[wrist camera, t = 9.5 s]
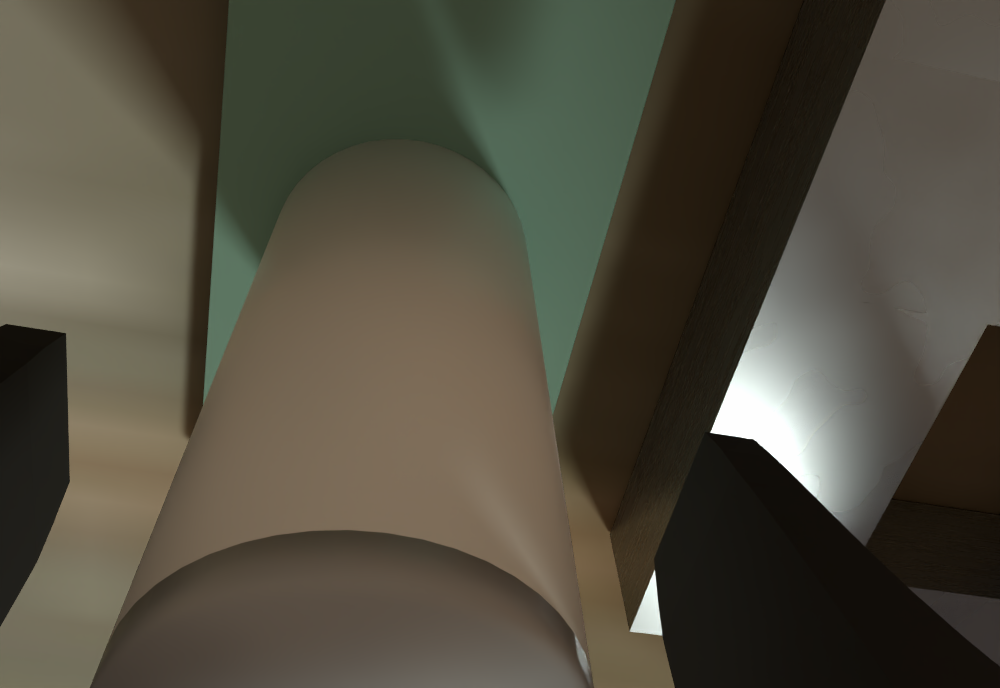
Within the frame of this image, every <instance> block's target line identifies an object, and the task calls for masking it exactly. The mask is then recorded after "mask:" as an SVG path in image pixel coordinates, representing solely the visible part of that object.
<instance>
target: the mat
mask: <svg viewBox="0 0 1000 688" xmlns="http://www.w3.org/2000/svg"><path fill="white" fill-rule="evenodd" d="M675 1H676V0H229V9H228V25H227V40H226V56H225V71H224V87H223V102H222V118H221V134H220V149H219V165H218V180H217V196H216V211H215V227H214V243H213V258H212V274H211V289H210V305H209V321H208V336H207V352H206V367H205V383H204V398H203V404H204V402H205V399H206V397H207V394H208V392H209V389H210V387H211V384H212V382H213V379H214V377H215V374H216V372H217V369H218V367H219V364H220V362H221V359H222V357H223V354H224V352H225V349H226V347H227V344H228V342H229V339H230V337H231V334H232V332H233V329H234V327H235V324H236V322H237V319H238V317H239V314H240V312H241V309H242V307H243V304H244V302H245V299H246V297H247V295H248V292H249V290H250V287H251V285H252V282H253V280H254V277H255V275H256V272H257V270H258V267H259V265H260V262H261V260H262V257H263V255H264V252H265V250H266V247H267V245H268V242H269V240H270V237H271V235H272V232H273V230H274V227H275V225H276V222H277V220H278V217H279V215H280V212H281V210H282V208H283V206H284V204H285V202H286V200H287V198H288V196H289V195H290V193H291V192H292V190H293V189H294V187H295V186H296V185H297V183H298V182H299V181H300V180H301V179H302V178H303V177H304V176H305V175H306V174H307V173H308V172H309V171H310V170H311V169H312V168H314V167H315V166H316V165H318V164H319V163H320V162H321V161H323V160H325V159H326V158H328V157H330V156H331V155H333V154H335V153H337V152H339V151H342V150H344V149H346V148H349V147H351V146H354V145H358V144H362V143H366V142H370V141H378V140H385V139H406V140H414V141H422V142H426V143H430V144H434V145H438V146H441V147H444V148H446V149H449V150H451V151H454V152H456V153H458V154H460V155H462V156H463V157H465V158H467V159H469V160H471V161H472V162H474V163H475V164H476V165H478V166H479V167H480V168H482V169H483V170H485V171H486V172H487V173H488V174H489V175H490V176H491V177H492V178H493V179H494V180H495V181H496V182H497V183H498V184H499V185H500V187H501V188H502V189H503V190H504V192H505V193H506V194H507V196H508V197H509V199H510V201H511V202H512V204H513V206H514V207H515V209H516V211H517V214H518V216H519V218H520V221H521V223H522V227H523V231H524V235H525V239H526V245H527V252H528V259H529V265H530V272H531V278H532V285H533V291H534V298H535V305H536V311H537V318H538V324H539V331H540V338H541V344H542V351H543V357H544V364H545V370H546V377H547V384H548V390H549V397H550V403H551V410H552V416H553V412H554V409H555V406H556V402H557V399H558V396H559V392H560V389H561V385H562V382H563V379H564V375H565V372H566V369H567V365H568V362H569V359H570V355H571V352H572V348H573V345H574V342H575V338H576V335H577V332H578V328H579V325H580V321H581V318H582V315H583V311H584V308H585V305H586V301H587V298H588V294H589V291H590V288H591V284H592V281H593V278H594V274H595V271H596V268H597V264H598V261H599V257H600V254H601V251H602V247H603V244H604V241H605V237H606V234H607V230H608V227H609V224H610V220H611V217H612V214H613V210H614V207H615V203H616V200H617V197H618V193H619V190H620V187H621V183H622V180H623V176H624V173H625V170H626V166H627V163H628V160H629V156H630V153H631V150H632V146H633V143H634V139H635V136H636V133H637V129H638V126H639V123H640V119H641V116H642V112H643V109H644V106H645V102H646V99H647V96H648V92H649V89H650V85H651V82H652V79H653V75H654V72H655V69H656V65H657V62H658V59H659V55H660V52H661V48H662V45H663V42H664V38H665V35H666V32H667V28H668V25H669V21H670V18H671V15H672V11H673V8H674V5H675Z"/></svg>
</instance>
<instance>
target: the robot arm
mask: <svg viewBox="0 0 1000 688" xmlns="http://www.w3.org/2000/svg"><path fill="white" fill-rule="evenodd" d="M69 482H70V476H69V436H68V397H67V357H66V333H61V332H54V331H48V330H41V329H35V328H28V327H22V326H15V325H9V324H5V325H3V326H1V327H0V626H1V624H2V623H3V621H4V619H5V617H6V616H7V614H8V612H9V610H10V609H11V607H12V605H13V603H14V602H15V600H16V598H17V596H18V595H19V593H20V591H21V589H22V588H23V586H24V584H25V582H26V581H27V579H28V577H29V575H30V573H31V572H32V570H33V568H34V566H35V564H36V563H37V560H38V558H39V556H40V553H41V551H42V549H43V546H44V544H45V542H46V539H47V537H48V535H49V532H50V530H51V527H52V525H53V523H54V520H55V517H56V515H57V512H58V510H59V507H60V505H61V502H62V500H63V497H64V495H65V492H66V489H67V487H68V484H69ZM654 565H655V575H656V586H657V596H658V605H659V613H660V620H661V628H662V636H663V640H664V645H665V649H666V653H667V657H668V661H669V665H670V669H671V673H672V677H673V681H674V685H675V688H1000V666H999V665H998V664H996V663H995V662H994V661H992V660H991V659H990V658H989V657H988V656H986V655H985V654H984V653H983V652H982V651H980V650H979V649H978V648H977V647H975V646H974V645H973V644H972V643H971V642H969V641H968V640H967V639H966V638H965V637H964V636H962V635H961V634H960V633H959V632H958V631H957V630H955V629H954V628H953V627H952V626H951V625H950V624H949V623H948V622H946V621H945V620H944V619H943V618H942V617H941V616H940V615H938V614H937V613H936V612H935V611H934V610H933V609H932V608H931V607H929V606H928V605H927V604H926V603H925V602H924V601H923V600H922V599H920V598H919V597H918V596H917V595H916V594H915V593H914V592H913V591H911V590H910V589H909V588H908V587H907V586H906V585H905V584H904V583H903V582H902V581H901V580H900V579H899V578H898V577H896V576H895V575H894V574H893V573H892V572H891V571H890V570H889V569H888V568H887V567H886V566H885V565H884V564H883V563H882V562H881V561H880V560H878V559H877V558H876V557H875V556H874V555H873V554H872V553H871V552H870V551H869V550H868V549H867V548H866V547H865V546H864V545H863V544H862V543H861V542H860V541H859V540H858V539H857V538H856V537H855V536H854V535H853V534H852V533H851V532H850V531H849V530H848V529H847V528H846V527H845V526H844V525H843V524H842V523H841V522H840V521H839V520H838V519H837V518H836V517H835V516H834V515H833V514H832V513H831V512H830V511H829V510H828V509H826V508H825V507H824V506H823V505H822V504H821V503H820V502H819V501H818V500H817V499H816V498H815V497H814V496H813V495H812V494H811V493H810V492H809V491H808V490H807V489H806V488H805V487H804V486H803V485H802V484H801V483H800V482H799V481H798V480H797V479H796V478H795V477H794V476H793V475H792V474H791V473H790V472H789V471H788V470H787V469H786V468H785V467H784V466H783V465H782V464H781V463H780V462H779V461H778V460H777V459H776V458H775V457H774V456H772V455H771V454H770V453H769V452H768V451H767V450H766V449H765V448H764V447H762V446H761V445H760V444H759V443H758V442H756V441H755V440H754V439H748V438H742V437H736V436H729V435H723V434H716V433H710V432H705V433H704V436H703V438H702V441H701V443H700V445H699V448H698V450H697V453H696V455H695V458H694V460H693V463H692V465H691V468H690V470H689V473H688V475H687V478H686V480H685V483H684V485H683V488H682V490H681V493H680V495H679V498H678V500H677V503H676V505H675V508H674V510H673V513H672V515H671V518H670V520H669V523H668V525H667V528H666V530H665V533H664V535H663V537H662V540H661V542H660V545H659V547H658V550H657V552H656V555H655V557H654Z"/></svg>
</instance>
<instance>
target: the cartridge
mask: <svg viewBox="0 0 1000 688" xmlns="http://www.w3.org/2000/svg"><path fill="white" fill-rule="evenodd" d="M90 688H594V686H593V680H592V673H591V666H590V660H589V653H588V647H587V640H586V634H585V627H584V620H583V614H582V607H581V601H580V594H579V588H578V581H577V574H576V568H575V561H574V555H573V548H572V541H571V535H570V528H569V522H568V515H567V509H566V502H565V495H564V489H563V482H562V476H561V469H560V463H559V456H558V449H557V443H556V436H555V430H554V423H553V416H552V410H551V403H550V397H549V390H548V384H547V377H546V370H545V364H544V357H543V351H542V344H541V338H540V331H539V324H538V318H537V311H536V305H535V298H534V291H533V285H532V278H531V272H530V265H529V259H528V252H527V245H526V239H525V235H524V231H523V227H522V223H521V221H520V218H519V216H518V214H517V211H516V209H515V207H514V206H513V204H512V202H511V201H510V199H509V197H508V196H507V194H506V193H505V192H504V190H503V189H502V188H501V187H500V185H499V184H498V183H497V182H496V181H495V180H494V179H493V178H492V177H491V176H490V175H489V174H488V173H487V172H486V171H485V170H483V169H482V168H480V167H479V166H478V165H476V164H475V163H474V162H472V161H471V160H469V159H467V158H465V157H463V156H462V155H460V154H458V153H456V152H454V151H451V150H449V149H446V148H444V147H441V146H438V145H434V144H430V143H426V142H422V141H414V140H406V139H385V140H378V141H370V142H366V143H362V144H358V145H354V146H351V147H349V148H346V149H344V150H342V151H339V152H337V153H335V154H333V155H331V156H330V157H328V158H326V159H325V160H323V161H321V162H320V163H319V164H318V165H316V166H315V167H314V168H312V169H311V170H310V171H309V172H308V173H307V174H306V175H305V176H304V177H303V178H302V179H301V180H300V181H299V182H298V183H297V185H296V186H295V187H294V189H293V190H292V192H291V193H290V195H289V196H288V198H287V200H286V202H285V204H284V206H283V208H282V210H281V212H280V215H279V217H278V220H277V222H276V225H275V227H274V230H273V232H272V235H271V237H270V240H269V242H268V245H267V247H266V250H265V252H264V255H263V257H262V260H261V262H260V265H259V267H258V270H257V272H256V275H255V277H254V280H253V282H252V285H251V287H250V290H249V292H248V295H247V297H246V299H245V302H244V304H243V307H242V309H241V312H240V314H239V317H238V319H237V322H236V324H235V327H234V329H233V332H232V334H231V337H230V339H229V342H228V344H227V347H226V349H225V352H224V354H223V357H222V359H221V362H220V364H219V367H218V369H217V372H216V374H215V377H214V379H213V382H212V384H211V387H210V389H209V392H208V394H207V397H206V399H205V402H204V404H203V407H202V409H201V412H200V414H199V417H198V419H197V422H196V424H195V427H194V429H193V432H192V434H191V437H190V439H189V442H188V444H187V447H186V449H185V452H184V454H183V457H182V459H181V462H180V464H179V467H178V469H177V472H176V474H175V477H174V479H173V482H172V484H171V487H170V489H169V492H168V494H167V497H166V499H165V502H164V504H163V507H162V509H161V512H160V514H159V517H158V519H157V522H156V524H155V527H154V529H153V532H152V534H151V537H150V539H149V542H148V544H147V547H146V549H145V552H144V554H143V557H142V559H141V561H140V564H139V566H138V569H137V571H136V574H135V576H134V579H133V581H132V584H131V586H130V589H129V591H128V594H127V596H126V599H125V601H124V604H123V606H122V609H121V611H120V614H119V616H118V619H117V621H116V624H115V626H114V629H113V631H112V634H111V636H110V639H109V641H108V644H107V646H106V649H105V651H104V654H103V656H102V659H101V661H100V664H99V666H98V669H97V671H96V674H95V676H94V679H93V681H92V684H91V686H90Z"/></svg>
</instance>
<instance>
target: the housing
mask: <svg viewBox="0 0 1000 688" xmlns="http://www.w3.org/2000/svg"><path fill="white" fill-rule="evenodd" d="M988 324H989V325H995V326H1000V0H804V2H803V5H802V8H801V10H800V13H799V16H798V19H797V21H796V24H795V27H794V30H793V32H792V35H791V38H790V41H789V43H788V46H787V49H786V52H785V54H784V57H783V60H782V63H781V65H780V68H779V71H778V74H777V76H776V79H775V82H774V85H773V87H772V90H771V93H770V96H769V98H768V101H767V104H766V107H765V109H764V112H763V115H762V118H761V120H760V123H759V126H758V129H757V131H756V134H755V137H754V140H753V142H752V145H751V148H750V151H749V153H748V156H747V159H746V162H745V164H744V167H743V170H742V173H741V175H740V178H739V181H738V184H737V186H736V189H735V192H734V195H733V197H732V200H731V203H730V206H729V208H728V211H727V214H726V217H725V219H724V222H723V225H722V228H721V230H720V233H719V236H718V239H717V241H716V244H715V247H714V250H713V252H712V255H711V258H710V261H709V263H708V266H707V269H706V272H705V274H704V277H703V280H702V283H701V285H700V288H699V291H698V294H697V296H696V299H695V302H694V305H693V307H692V310H691V313H690V316H689V318H688V321H687V324H686V327H685V329H684V332H683V335H682V338H681V340H680V343H679V346H678V349H677V351H676V354H675V357H674V360H673V362H672V365H671V368H670V371H669V373H668V376H667V379H666V382H665V384H664V387H663V390H662V393H661V395H660V398H659V401H658V404H657V406H656V409H655V412H654V415H653V417H652V420H651V423H650V426H649V428H648V431H647V434H646V437H645V439H644V442H643V445H642V448H641V450H640V453H639V456H638V459H637V461H636V464H635V467H634V470H633V473H632V475H631V478H630V481H629V484H628V486H627V489H626V492H625V495H624V497H623V500H622V503H621V506H620V508H619V511H618V514H617V517H616V519H615V522H614V525H613V528H612V530H611V533H610V538H611V543H612V548H613V553H614V557H615V562H616V567H617V572H618V577H619V582H620V587H621V592H622V597H623V601H624V606H625V611H626V616H627V621H628V626H629V631H630V632H638V633H647V634H655V635H662V628H661V620H660V613H659V605H658V596H657V586H656V575H655V565H654V557H655V555H656V552H657V550H658V547H659V545H660V542H661V540H662V537H663V535H664V533H665V530H666V528H667V525H668V523H669V520H670V518H671V515H672V513H673V510H674V508H675V505H676V503H677V500H678V498H679V495H680V493H681V490H682V488H683V485H684V483H685V480H686V478H687V475H688V473H689V470H690V468H691V465H692V463H693V460H694V458H695V455H696V453H697V450H698V448H699V445H700V443H701V441H702V438H703V436H704V433H705V432H710V433H716V434H723V435H729V436H736V437H742V438H748V439H754V440H755V441H756V442H758V443H759V444H760V445H761V446H762V447H764V448H765V449H766V450H767V451H768V452H769V453H770V454H771V455H772V456H774V457H775V458H776V459H777V460H778V461H779V462H780V463H781V464H782V465H783V466H784V467H785V468H786V469H787V470H788V471H789V472H790V473H791V474H792V475H793V476H794V477H795V478H796V479H797V480H798V481H799V482H800V483H801V484H802V485H803V486H804V487H805V488H806V489H807V490H808V491H809V492H810V493H811V494H812V495H813V496H814V497H815V498H816V499H817V500H818V501H819V502H820V503H821V504H822V505H823V506H824V507H825V508H826V509H828V510H829V511H830V512H831V513H832V514H833V515H834V516H835V517H836V518H837V519H838V520H839V521H840V522H841V523H842V524H843V525H844V526H845V527H846V528H847V529H848V530H849V531H850V532H851V533H852V534H853V535H854V536H855V537H856V538H857V539H858V540H859V541H860V542H861V543H862V544H863V545H864V546H865V547H866V548H867V549H868V550H869V551H870V552H871V553H872V554H873V555H874V556H875V557H876V558H877V559H878V560H880V561H881V562H882V563H883V564H884V565H885V566H886V567H887V568H888V569H889V570H890V571H891V572H892V573H893V574H894V575H895V576H896V577H898V578H899V579H900V580H901V581H902V582H903V583H904V584H905V585H906V586H907V587H908V588H909V589H910V590H911V591H913V592H914V593H915V594H916V595H917V596H918V597H919V598H920V599H922V600H923V601H924V602H925V603H926V604H927V605H928V606H929V607H931V608H932V609H933V610H934V611H935V612H936V613H937V614H938V615H940V616H941V617H942V618H943V619H944V620H945V621H946V622H948V623H949V624H950V625H951V626H952V627H953V628H954V629H955V630H957V631H958V632H959V633H960V634H961V635H962V636H964V637H965V638H966V639H967V640H968V641H969V642H971V643H972V644H973V645H974V646H975V647H977V648H978V649H979V650H980V651H982V652H983V653H984V654H985V655H986V656H988V657H989V658H990V659H991V660H992V661H994V662H995V663H996V664H998V665H999V666H1000V515H996V514H989V513H982V512H976V511H969V510H962V509H955V508H948V507H942V506H935V505H928V504H921V503H915V502H908V501H901V500H894V499H892V497H893V495H894V493H895V491H896V490H897V488H898V486H899V484H900V482H901V481H902V479H903V477H904V475H905V473H906V471H907V470H908V468H909V466H910V464H911V462H912V461H913V459H914V457H915V455H916V453H917V452H918V450H919V448H920V446H921V444H922V443H923V441H924V439H925V437H926V435H927V433H928V432H929V430H930V428H931V426H932V424H933V423H934V421H935V419H936V417H937V415H938V414H939V412H940V410H941V408H942V406H943V404H944V403H945V401H946V399H947V397H948V395H949V394H950V392H951V390H952V388H953V386H954V385H955V383H956V381H957V379H958V377H959V375H960V374H961V372H962V370H963V368H964V366H965V365H966V363H967V361H968V359H969V357H970V356H971V354H972V352H973V350H974V348H975V347H976V345H977V343H978V341H979V339H980V337H981V336H982V334H983V332H984V330H985V328H986V327H987V325H988Z"/></svg>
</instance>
